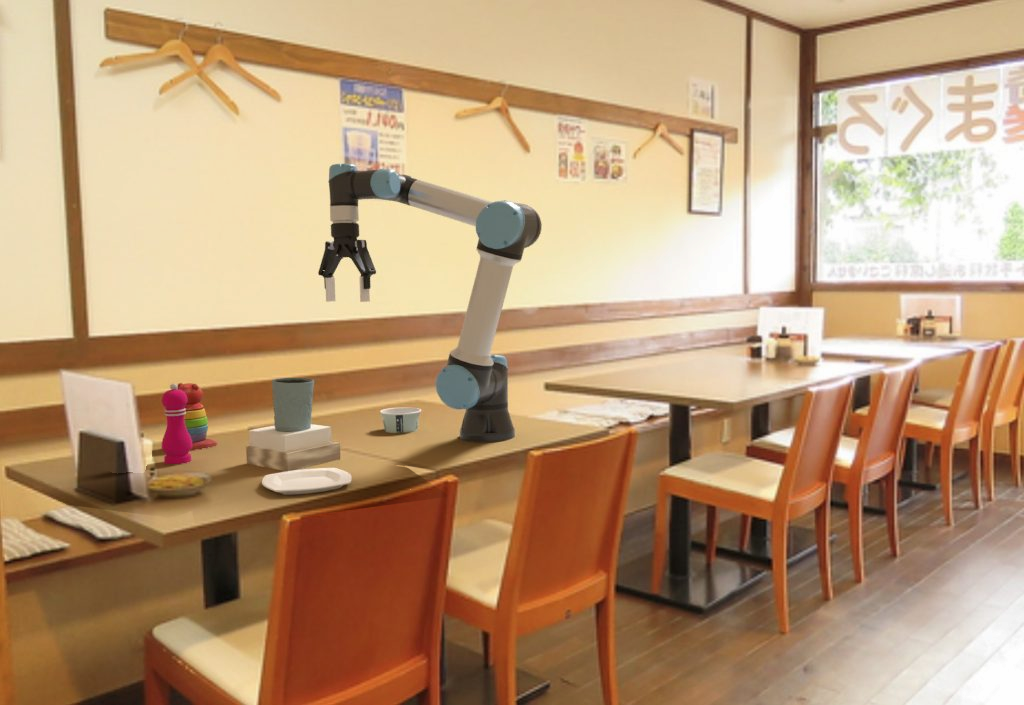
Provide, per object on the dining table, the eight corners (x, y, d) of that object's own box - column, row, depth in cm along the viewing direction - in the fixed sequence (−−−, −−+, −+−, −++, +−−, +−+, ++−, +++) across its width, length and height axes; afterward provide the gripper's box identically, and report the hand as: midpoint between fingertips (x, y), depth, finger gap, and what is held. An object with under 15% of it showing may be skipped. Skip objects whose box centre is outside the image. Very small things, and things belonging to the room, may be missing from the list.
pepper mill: (157, 463, 221) (152, 383, 219) (184, 458, 227) (180, 380, 225) (170, 466, 216) (166, 385, 215) (198, 461, 222) (194, 382, 220)
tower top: (331, 442, 219) (331, 426, 219) (285, 452, 209) (284, 435, 208) (296, 437, 228) (295, 421, 228) (249, 446, 217) (249, 430, 217)
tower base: (340, 462, 220) (339, 442, 219) (288, 474, 207) (287, 453, 207) (299, 455, 230) (298, 436, 229) (247, 466, 217) (246, 446, 217)
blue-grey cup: (275, 425, 222) (274, 377, 221) (316, 424, 223) (316, 377, 222) (269, 432, 212) (268, 382, 211) (312, 431, 213) (312, 382, 212)
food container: (424, 434, 253) (424, 412, 252) (382, 437, 250) (382, 414, 250) (418, 427, 265) (418, 406, 264) (378, 430, 262) (377, 408, 261)
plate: (268, 502, 182) (268, 493, 182) (256, 482, 200) (256, 474, 199) (360, 491, 189) (360, 482, 189) (341, 473, 207) (341, 465, 207)
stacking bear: (220, 445, 242) (217, 381, 241) (193, 452, 233) (189, 386, 232) (190, 443, 247) (187, 380, 245) (162, 450, 238) (159, 384, 236)
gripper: (387, 220, 234) (390, 301, 236) (324, 225, 249) (327, 300, 251) (366, 219, 228) (369, 302, 230) (303, 224, 243) (306, 301, 245)
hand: (347, 301), depth 240 cm, fingers open, 13 cm apart
